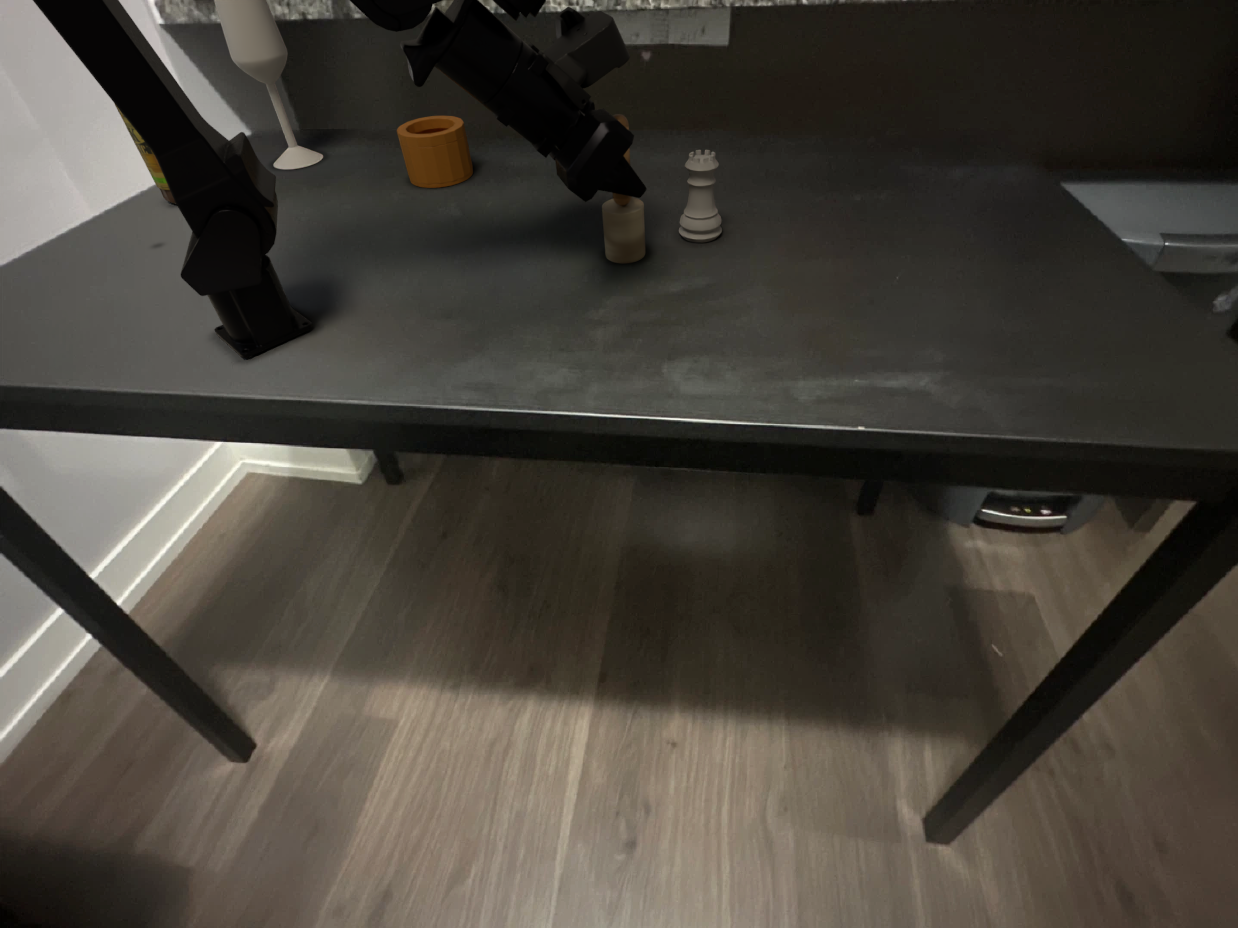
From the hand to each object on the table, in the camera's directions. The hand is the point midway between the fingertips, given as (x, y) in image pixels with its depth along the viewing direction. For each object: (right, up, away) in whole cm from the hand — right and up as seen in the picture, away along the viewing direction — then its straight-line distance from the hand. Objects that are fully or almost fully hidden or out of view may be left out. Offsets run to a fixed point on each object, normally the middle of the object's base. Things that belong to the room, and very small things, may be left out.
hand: (635, 185), depth 64 cm
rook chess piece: (+7, -3, +7) cm, 10 cm away
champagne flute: (-46, +16, +31) cm, 58 cm away
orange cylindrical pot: (-24, +11, +23) cm, 35 cm away
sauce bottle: (-56, +8, +23) cm, 61 cm away
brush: (-1, -5, +4) cm, 7 cm away
